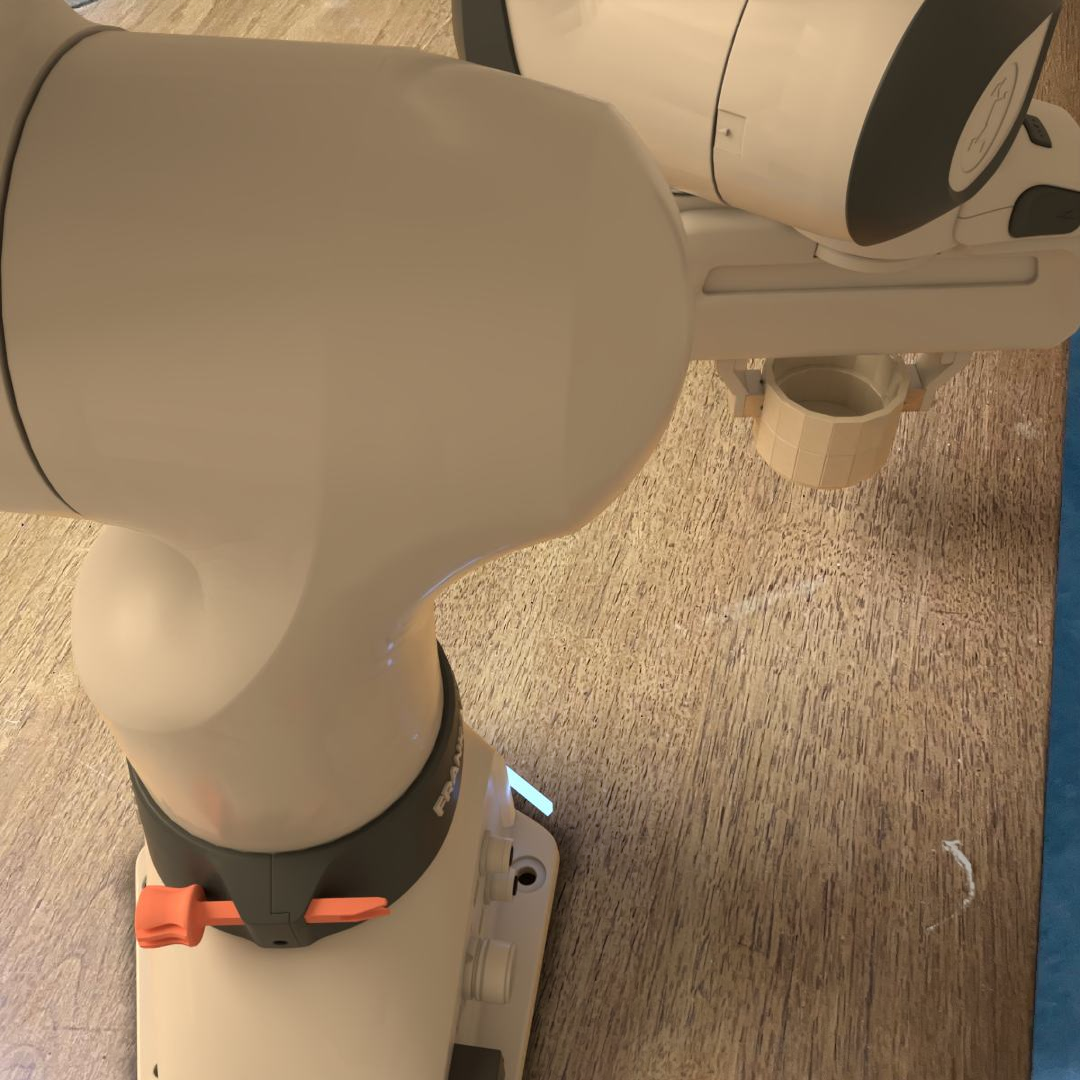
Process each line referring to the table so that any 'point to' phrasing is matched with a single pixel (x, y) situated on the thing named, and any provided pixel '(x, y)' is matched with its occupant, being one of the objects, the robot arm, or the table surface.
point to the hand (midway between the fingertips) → (827, 406)
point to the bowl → (830, 417)
